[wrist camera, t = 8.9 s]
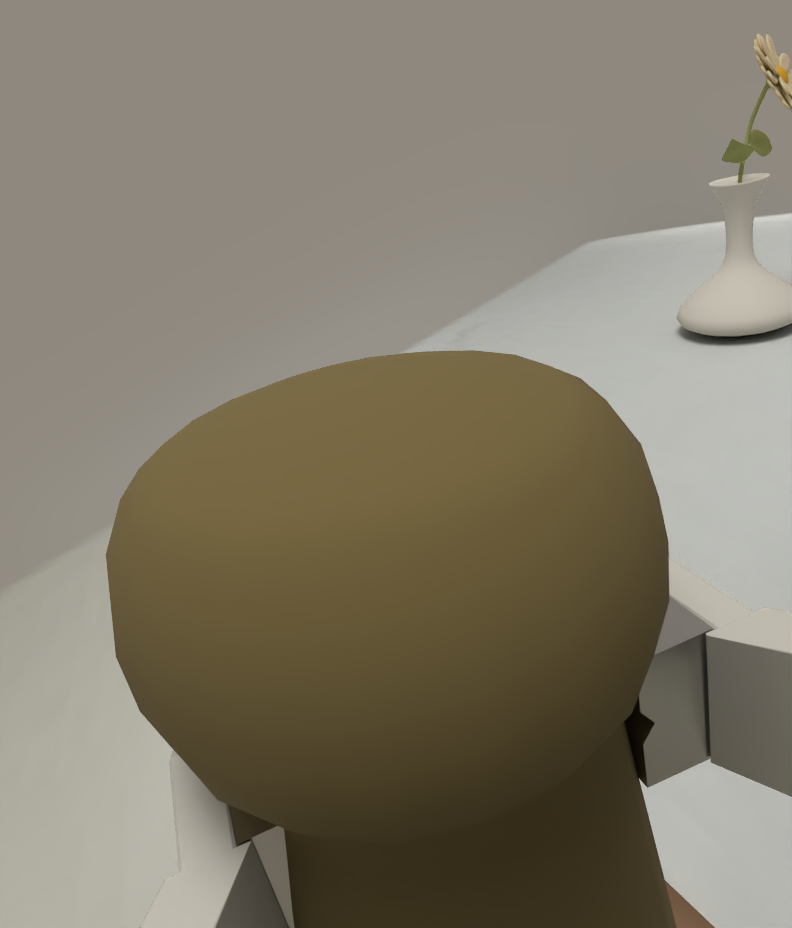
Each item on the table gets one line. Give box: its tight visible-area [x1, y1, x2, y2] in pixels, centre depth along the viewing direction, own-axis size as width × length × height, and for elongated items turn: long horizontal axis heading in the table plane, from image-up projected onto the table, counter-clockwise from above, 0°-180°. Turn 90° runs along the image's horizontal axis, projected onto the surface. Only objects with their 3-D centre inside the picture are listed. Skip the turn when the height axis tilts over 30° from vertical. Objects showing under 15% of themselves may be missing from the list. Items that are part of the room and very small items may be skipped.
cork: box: [106, 351, 677, 928], centre depth 9 cm, size 6×6×11 cm
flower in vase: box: [677, 34, 792, 336], centre depth 66 cm, size 13×11×25 cm
